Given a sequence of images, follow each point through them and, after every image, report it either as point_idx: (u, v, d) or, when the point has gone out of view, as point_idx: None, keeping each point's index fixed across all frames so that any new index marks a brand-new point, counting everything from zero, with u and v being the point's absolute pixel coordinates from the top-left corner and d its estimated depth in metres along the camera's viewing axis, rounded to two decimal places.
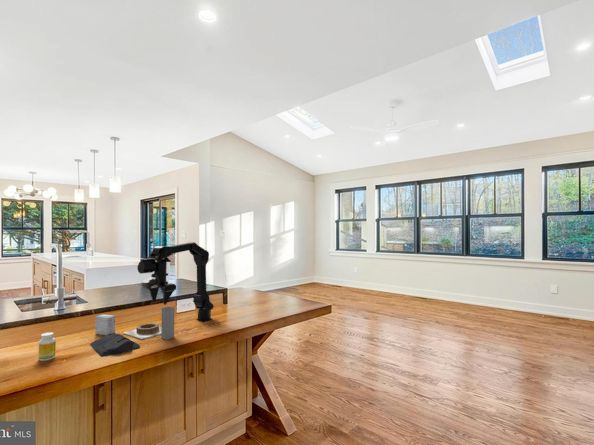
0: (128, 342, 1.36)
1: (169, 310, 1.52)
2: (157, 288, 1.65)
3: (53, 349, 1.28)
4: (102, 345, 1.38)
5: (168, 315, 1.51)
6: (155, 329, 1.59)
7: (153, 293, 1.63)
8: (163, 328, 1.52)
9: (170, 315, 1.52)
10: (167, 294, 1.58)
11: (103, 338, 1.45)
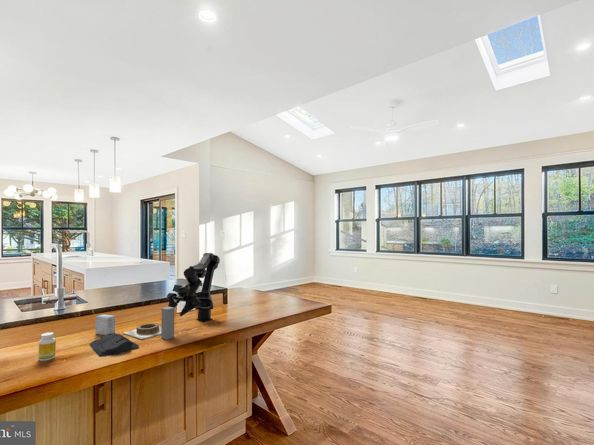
0: (127, 342, 1.36)
1: (169, 310, 1.52)
2: (176, 304, 1.64)
3: (53, 349, 1.28)
4: (101, 345, 1.38)
5: (168, 315, 1.51)
6: (155, 329, 1.59)
7: (171, 305, 1.61)
8: (163, 328, 1.52)
9: (170, 315, 1.52)
10: (188, 307, 1.57)
11: (102, 338, 1.45)
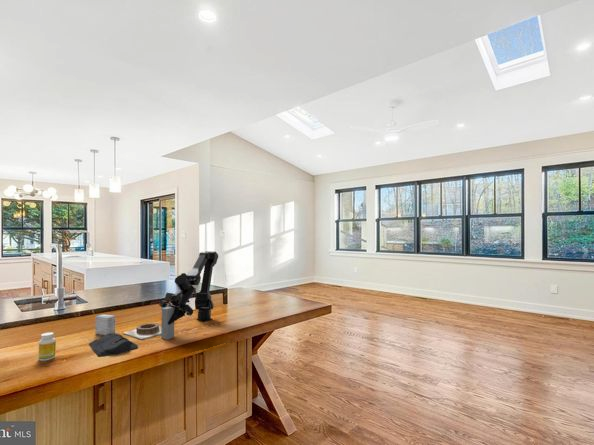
0: (126, 342, 1.36)
1: (169, 310, 1.52)
2: None
3: (53, 349, 1.28)
4: (100, 345, 1.38)
5: (168, 315, 1.51)
6: (155, 329, 1.59)
7: None
8: (163, 328, 1.52)
9: (170, 315, 1.52)
10: (177, 315, 1.54)
11: (102, 338, 1.45)
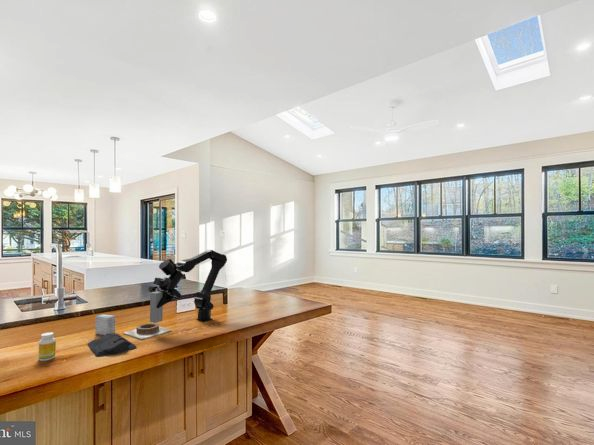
0: (124, 343, 1.36)
1: (157, 294, 1.56)
2: None
3: (53, 349, 1.28)
4: (99, 345, 1.38)
5: (156, 299, 1.56)
6: (155, 329, 1.59)
7: None
8: (152, 312, 1.56)
9: (158, 299, 1.57)
10: (165, 299, 1.59)
11: (100, 338, 1.45)
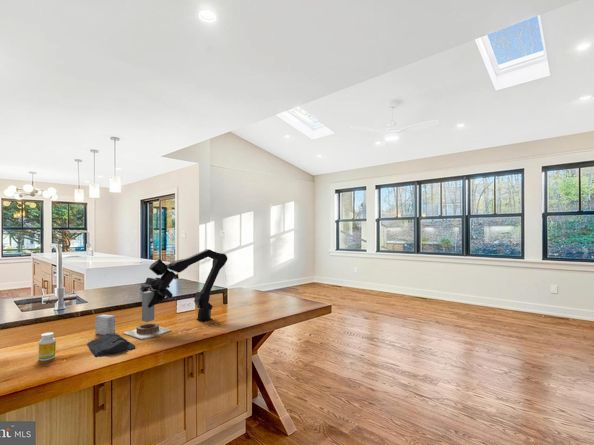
0: (123, 343, 1.36)
1: (149, 294, 1.60)
2: None
3: (53, 349, 1.28)
4: (98, 345, 1.38)
5: (148, 298, 1.59)
6: (155, 329, 1.59)
7: None
8: (143, 311, 1.60)
9: (150, 299, 1.60)
10: (157, 299, 1.62)
11: (100, 338, 1.45)
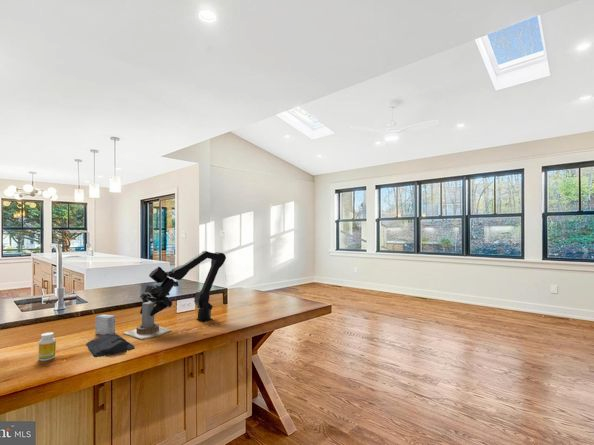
0: (122, 343, 1.36)
1: (149, 305, 1.59)
2: None
3: (53, 349, 1.28)
4: (97, 345, 1.38)
5: (148, 309, 1.59)
6: (155, 329, 1.59)
7: None
8: (143, 322, 1.60)
9: (150, 310, 1.60)
10: (159, 307, 1.61)
11: (99, 338, 1.45)
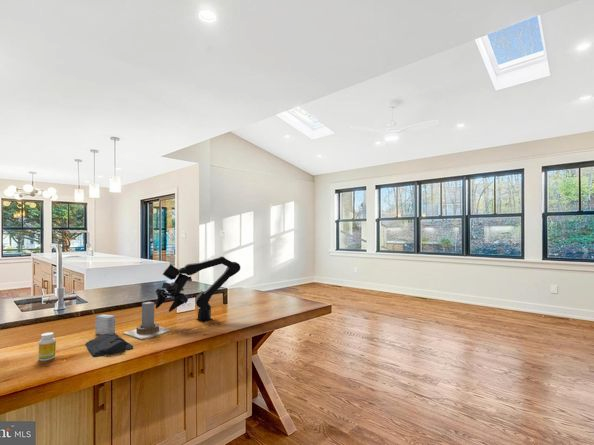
0: (121, 343, 1.35)
1: (149, 305, 1.59)
2: (164, 299, 1.76)
3: (53, 349, 1.28)
4: (96, 345, 1.38)
5: (148, 309, 1.59)
6: (155, 329, 1.59)
7: (160, 300, 1.73)
8: (143, 322, 1.60)
9: (149, 309, 1.60)
10: (176, 303, 1.69)
11: (98, 338, 1.45)
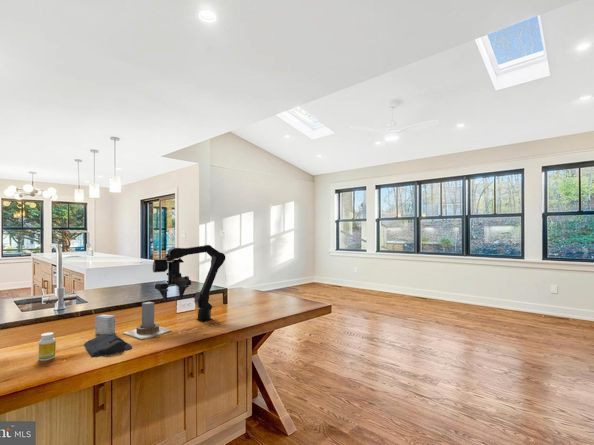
0: (119, 343, 1.35)
1: (149, 305, 1.59)
2: None
3: (53, 349, 1.28)
4: (94, 345, 1.38)
5: (148, 309, 1.59)
6: (155, 329, 1.59)
7: None
8: (143, 322, 1.60)
9: (149, 309, 1.60)
10: None
11: (97, 338, 1.45)
